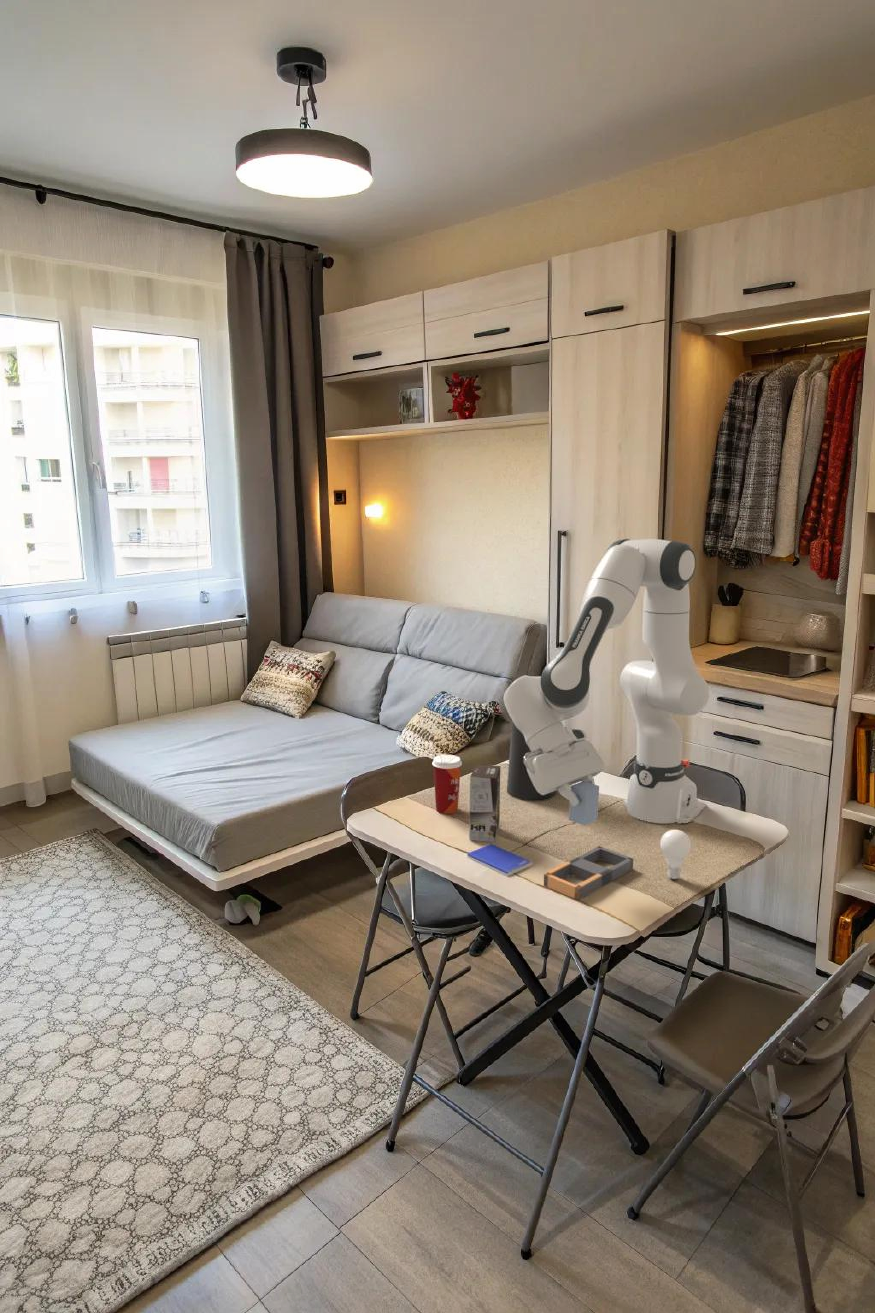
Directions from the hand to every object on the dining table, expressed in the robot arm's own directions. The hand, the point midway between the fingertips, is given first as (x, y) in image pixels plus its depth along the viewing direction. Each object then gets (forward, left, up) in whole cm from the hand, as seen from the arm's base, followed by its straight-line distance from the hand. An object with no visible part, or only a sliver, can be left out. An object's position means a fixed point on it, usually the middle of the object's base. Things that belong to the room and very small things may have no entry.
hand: (586, 801), depth 174 cm
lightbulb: (-15, +12, -19) cm, 27 cm away
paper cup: (-7, -49, -19) cm, 53 cm away
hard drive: (+5, -19, -19) cm, 28 cm away
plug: (0, -1, -4) cm, 4 cm away
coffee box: (-3, -32, -19) cm, 37 cm away
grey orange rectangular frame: (-3, -1, -18) cm, 19 cm away
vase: (-33, -42, -19) cm, 56 cm away
